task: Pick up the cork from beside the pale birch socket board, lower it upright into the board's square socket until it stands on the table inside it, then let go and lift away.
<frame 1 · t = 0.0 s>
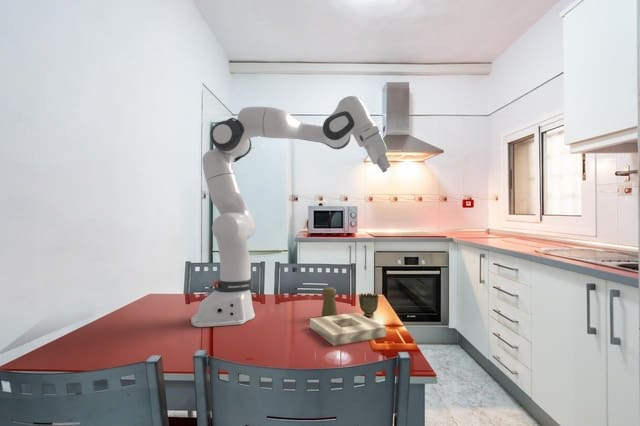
hand: (386, 169, 121), 54 cm above the table, tool tilted 30°, fingers open, 8 cm apart
socket board: (346, 331, 108), on the table
cup: (368, 316, 125), on the table
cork: (329, 317, 124), on the table
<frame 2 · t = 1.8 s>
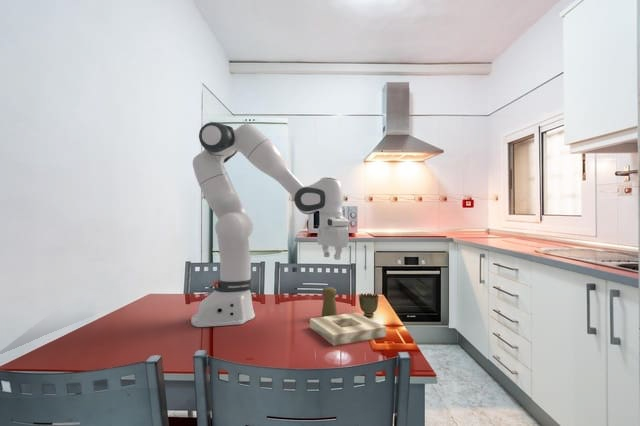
hand: (331, 258, 125), 22 cm above the table, tool pointing down, fingers open, 8 cm apart
nothing on the table moved.
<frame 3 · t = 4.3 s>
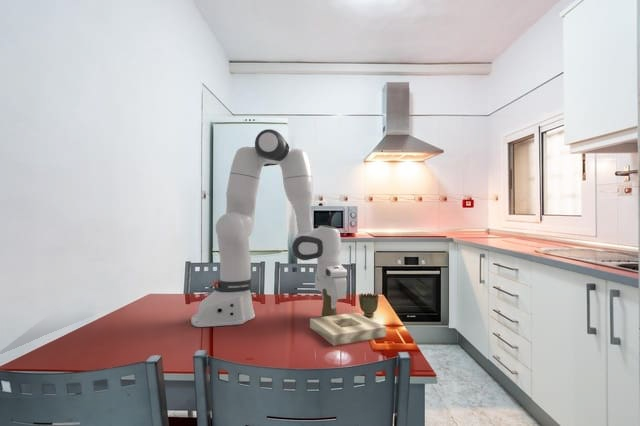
hand: (329, 306, 124), 4 cm above the table, tool pointing down, fingers closed on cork, 5 cm apart
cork: (329, 317, 124), on the table, touching gripper
everything else where it was.
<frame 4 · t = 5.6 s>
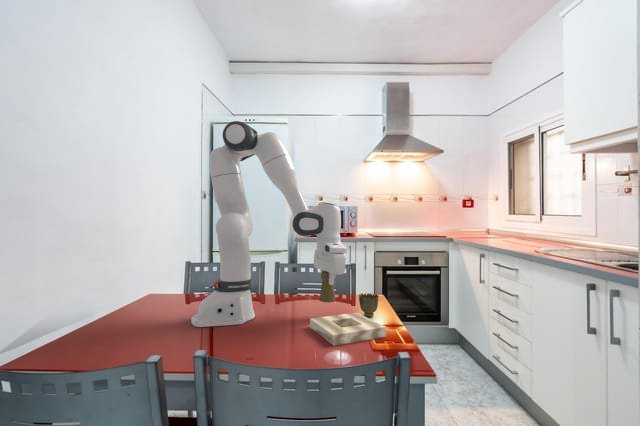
hand: (327, 283, 125), 13 cm above the table, tool pointing down, fingers closed on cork, 4 cm apart
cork: (327, 300, 124), point 6 cm above the table, touching gripper
everything else where it was.
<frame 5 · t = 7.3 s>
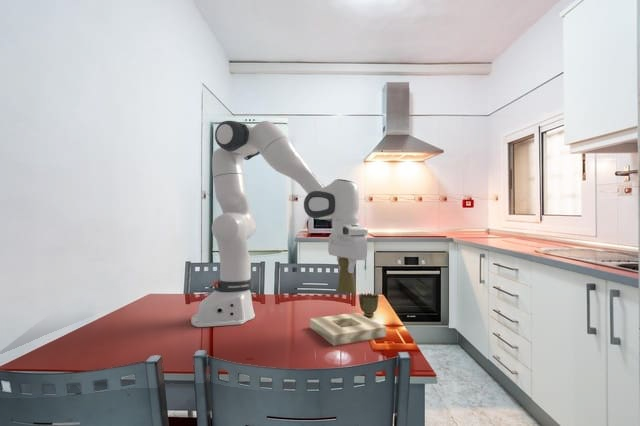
hand: (346, 271, 109), 19 cm above the table, tool pointing down, fingers closed on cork, 4 cm apart
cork: (346, 291, 109), point 13 cm above the table, touching gripper
everything else where it was.
when the fingers open (6 cm above the table, at t = 9.6 s): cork stays where it is, resting in socket board.
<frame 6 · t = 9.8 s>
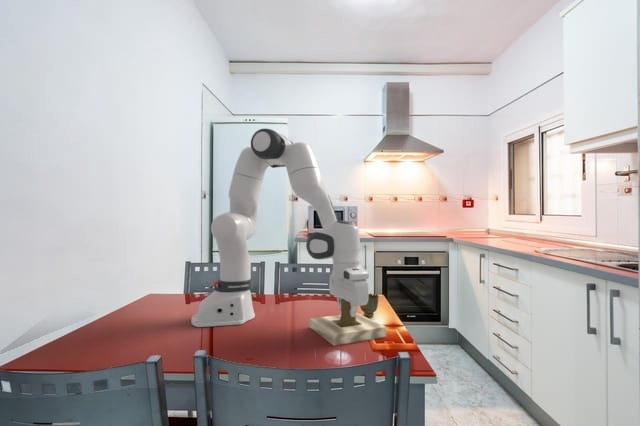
hand: (347, 313, 108), 6 cm above the table, tool pointing down, fingers open, 5 cm apart
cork: (347, 331, 108), resting in socket board, touching gripper
everything else where it was.
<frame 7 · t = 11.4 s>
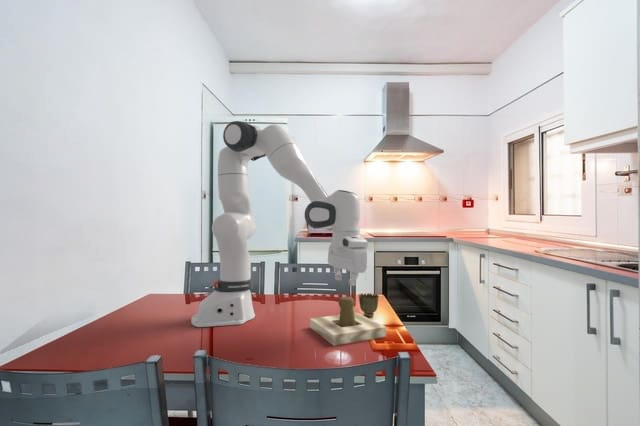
hand: (345, 282, 108), 16 cm above the table, tool pointing down, fingers open, 8 cm apart
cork: (347, 332, 108), resting in socket board
everything else where it was.
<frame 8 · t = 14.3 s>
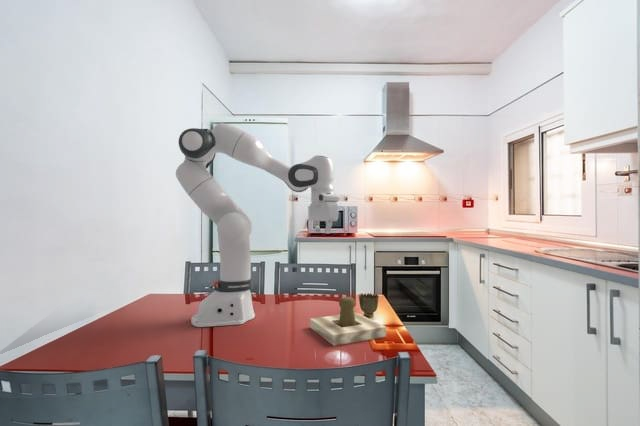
hand: (322, 233, 130), 31 cm above the table, tool pointing down, fingers open, 8 cm apart
nothing on the table moved.
at the end: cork 0.5 cm off-centre on the socket board, point 0.0 cm above the socket board's base; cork tilted 1°; the gripper is holding nothing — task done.
